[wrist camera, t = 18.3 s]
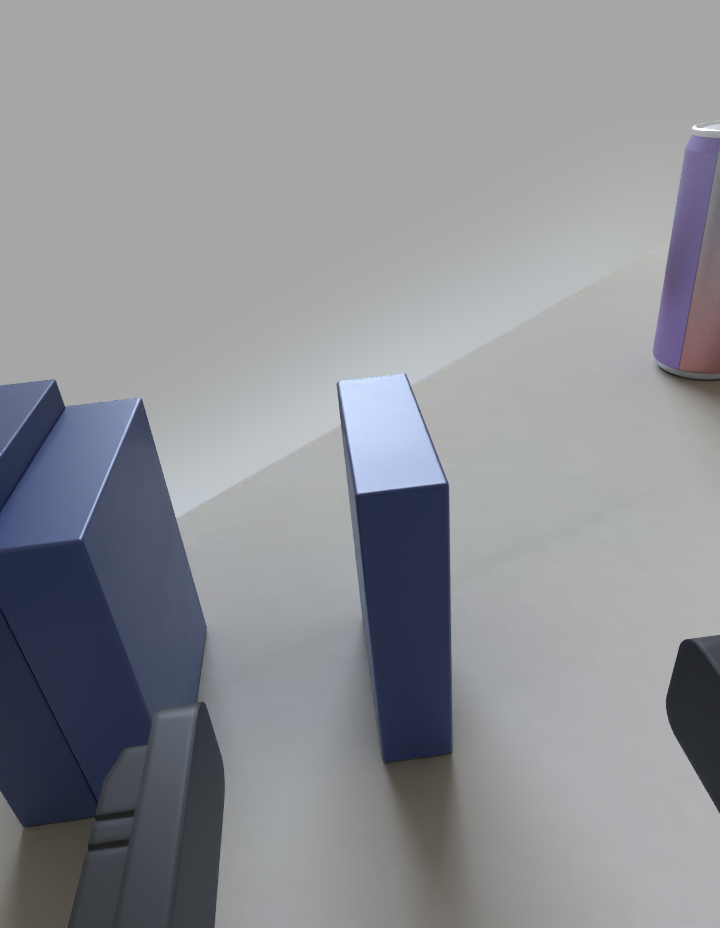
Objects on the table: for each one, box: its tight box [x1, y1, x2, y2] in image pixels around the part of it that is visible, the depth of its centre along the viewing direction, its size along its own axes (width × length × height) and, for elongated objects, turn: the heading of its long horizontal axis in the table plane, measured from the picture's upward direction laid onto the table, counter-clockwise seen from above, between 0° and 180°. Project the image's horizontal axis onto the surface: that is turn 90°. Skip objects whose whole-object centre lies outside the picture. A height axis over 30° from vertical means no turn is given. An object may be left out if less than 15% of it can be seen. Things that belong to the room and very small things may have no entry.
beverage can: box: [653, 120, 720, 380], centre depth 42 cm, size 6×6×15 cm
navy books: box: [0, 380, 207, 827], centre depth 22 cm, size 8×5×12 cm, turn 6°
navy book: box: [337, 374, 453, 762], centre depth 22 cm, size 7×2×11 cm, turn 6°
